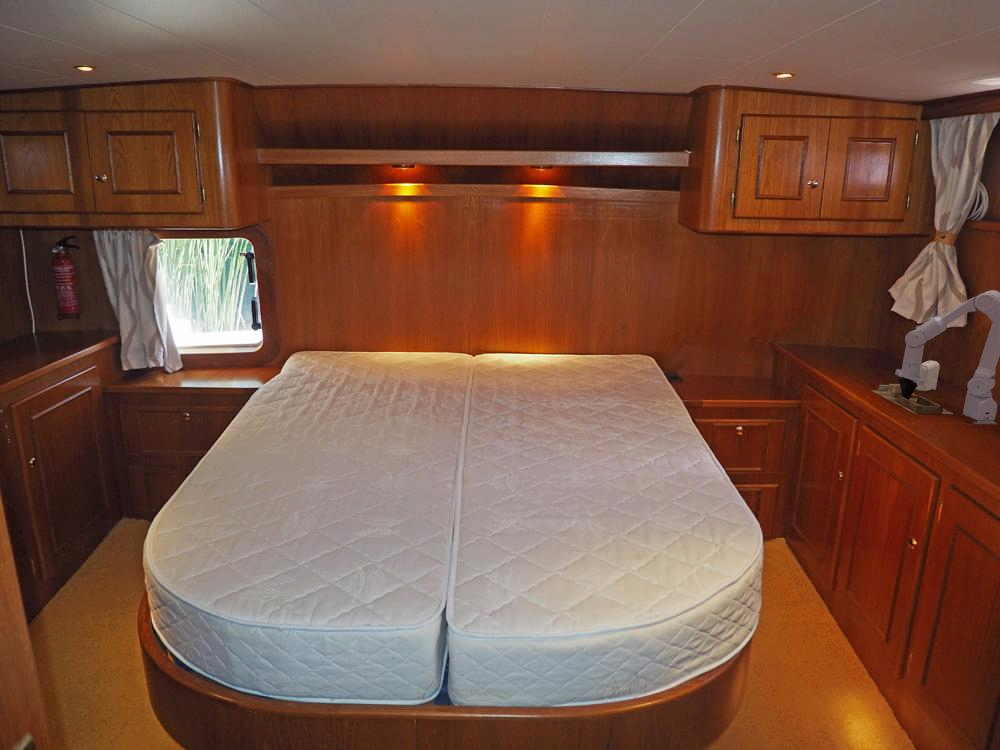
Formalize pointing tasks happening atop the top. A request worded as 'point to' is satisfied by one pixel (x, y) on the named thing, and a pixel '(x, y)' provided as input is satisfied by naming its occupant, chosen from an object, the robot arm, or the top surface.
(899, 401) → the cubby
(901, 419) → the top surface
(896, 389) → the cube
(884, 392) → the board
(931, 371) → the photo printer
